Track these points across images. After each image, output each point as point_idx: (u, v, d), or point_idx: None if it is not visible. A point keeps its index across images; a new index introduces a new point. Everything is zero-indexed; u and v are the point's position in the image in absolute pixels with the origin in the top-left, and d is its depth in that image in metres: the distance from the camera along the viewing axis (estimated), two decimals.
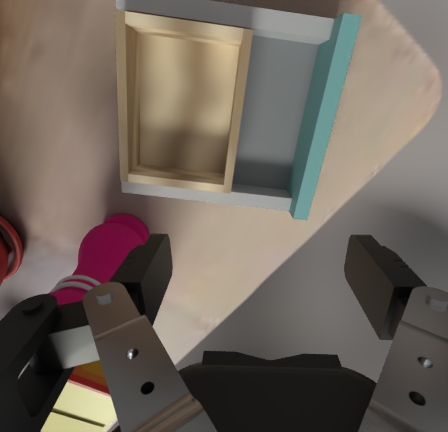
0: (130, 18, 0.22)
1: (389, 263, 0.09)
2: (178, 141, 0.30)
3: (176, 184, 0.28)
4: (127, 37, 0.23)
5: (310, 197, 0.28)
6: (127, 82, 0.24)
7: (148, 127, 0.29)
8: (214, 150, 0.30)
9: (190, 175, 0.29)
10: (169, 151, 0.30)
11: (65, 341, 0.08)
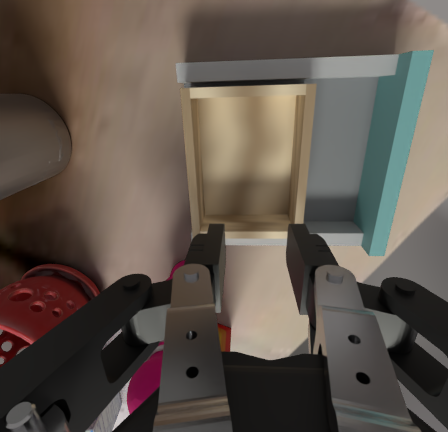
0: (194, 93, 0.23)
1: (309, 247, 0.11)
2: (240, 189, 0.30)
3: (246, 235, 0.28)
4: (192, 109, 0.24)
5: (386, 233, 0.27)
6: (194, 150, 0.25)
7: (211, 180, 0.30)
8: (277, 193, 0.30)
9: (257, 222, 0.30)
10: (232, 200, 0.31)
11: (160, 315, 0.09)
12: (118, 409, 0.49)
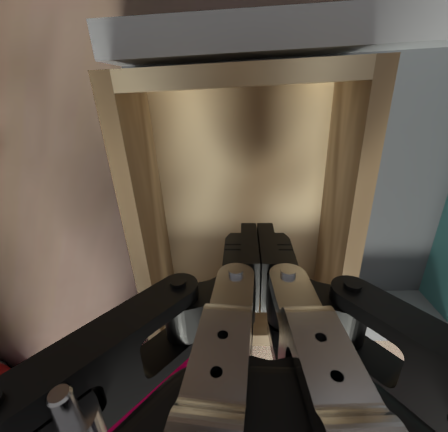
0: (123, 81, 0.10)
1: (271, 245, 0.11)
2: None
3: None
4: (123, 117, 0.11)
5: None
6: (136, 198, 0.12)
7: (182, 235, 0.18)
8: (295, 254, 0.18)
9: None
10: (220, 264, 0.18)
11: None
12: None
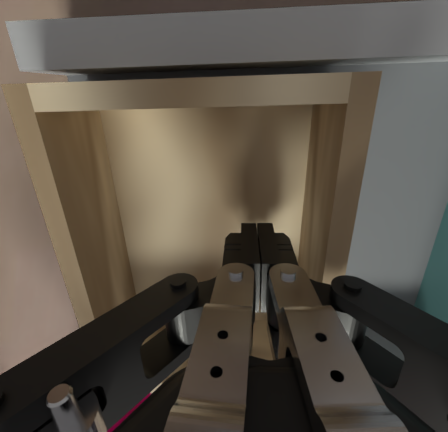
0: (44, 98, 0.08)
1: (271, 245, 0.11)
2: (203, 279, 0.16)
3: None
4: (53, 139, 0.09)
5: None
6: (72, 232, 0.10)
7: (145, 263, 0.16)
8: None
9: None
10: None
11: None
12: None
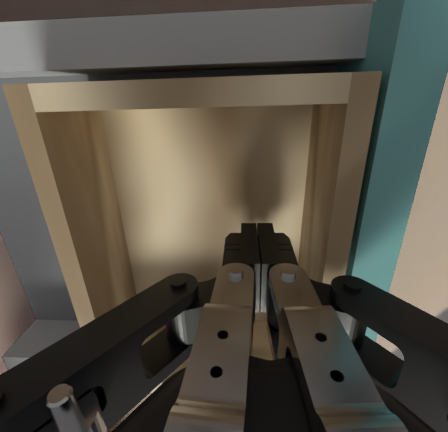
0: (45, 98, 0.08)
1: (271, 245, 0.11)
2: (203, 279, 0.16)
3: None
4: (53, 139, 0.09)
5: None
6: (73, 232, 0.10)
7: (145, 263, 0.16)
8: None
9: None
10: None
11: None
12: None
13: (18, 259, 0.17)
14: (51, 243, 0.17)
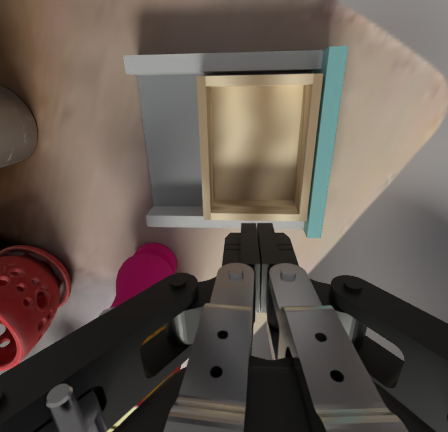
0: (210, 81, 0.25)
1: (271, 245, 0.11)
2: (249, 175, 0.32)
3: (254, 218, 0.30)
4: (206, 96, 0.26)
5: (321, 216, 0.29)
6: (207, 135, 0.27)
7: (221, 166, 0.32)
8: (283, 180, 0.32)
9: (264, 206, 0.31)
10: (241, 185, 0.33)
11: None
12: None
13: (152, 168, 0.34)
14: (171, 158, 0.33)
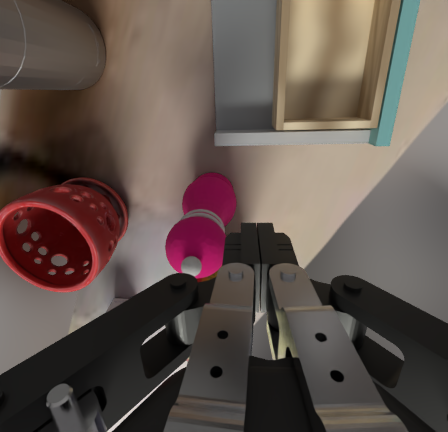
0: None
1: (271, 245, 0.11)
2: (315, 92, 0.33)
3: (326, 126, 0.31)
4: None
5: (391, 122, 0.30)
6: (288, 37, 0.28)
7: (288, 83, 0.33)
8: (348, 95, 0.33)
9: (331, 119, 0.32)
10: (306, 103, 0.34)
11: None
12: None
13: (218, 89, 0.35)
14: (238, 78, 0.34)
